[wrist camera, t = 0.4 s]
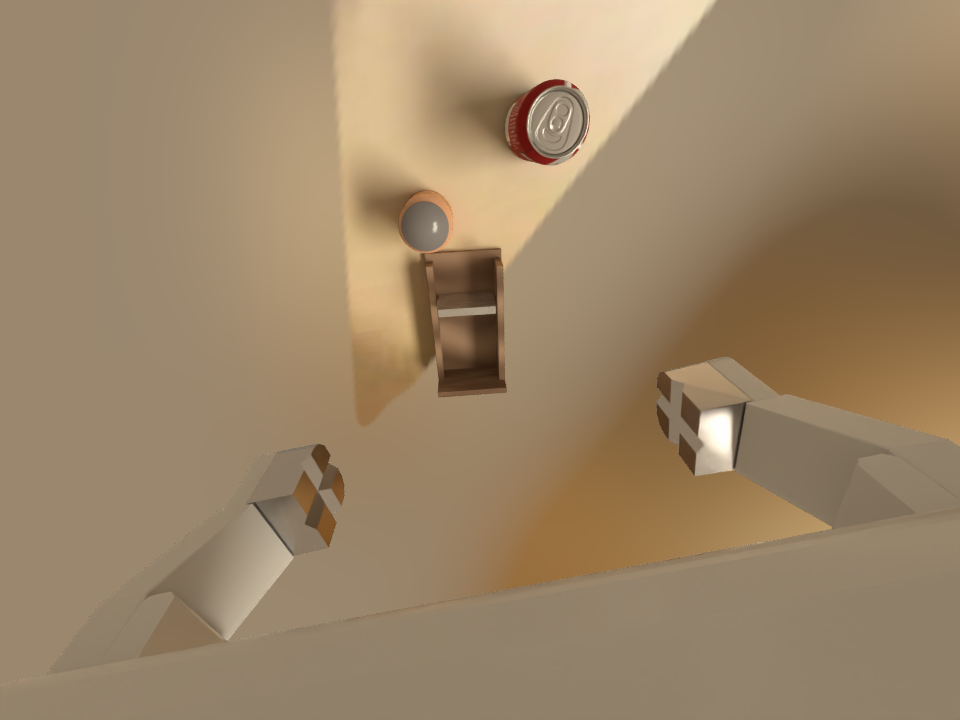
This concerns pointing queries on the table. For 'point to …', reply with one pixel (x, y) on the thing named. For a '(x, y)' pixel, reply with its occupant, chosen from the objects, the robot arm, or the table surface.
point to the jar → (426, 222)
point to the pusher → (466, 304)
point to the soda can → (548, 123)
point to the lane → (468, 323)
